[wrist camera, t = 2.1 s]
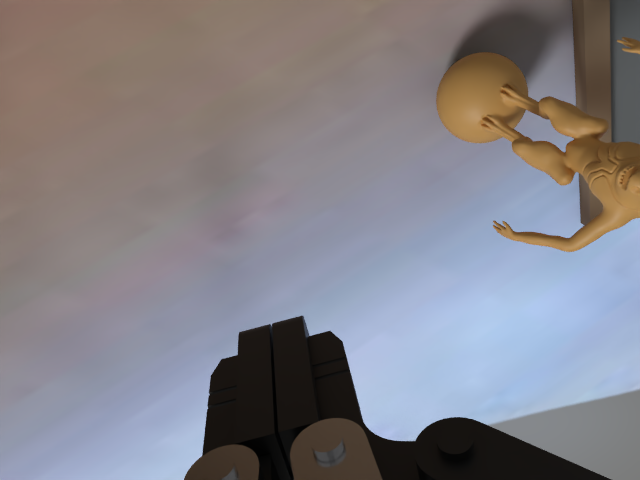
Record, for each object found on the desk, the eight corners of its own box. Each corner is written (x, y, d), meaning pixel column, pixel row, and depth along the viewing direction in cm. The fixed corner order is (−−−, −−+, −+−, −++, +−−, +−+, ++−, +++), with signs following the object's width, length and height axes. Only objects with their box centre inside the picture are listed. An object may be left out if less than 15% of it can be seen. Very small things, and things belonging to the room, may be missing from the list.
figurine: (482, -14, 26) (650, -10, 15) (581, 52, 28) (797, 98, 17) (387, 147, 28) (472, 250, 18) (483, 198, 30) (615, 320, 19)
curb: (567, -109, 25) (579, -113, 24) (594, -116, 25) (608, -120, 24) (580, 222, 31) (590, 229, 30) (602, 217, 31) (612, 224, 30)
